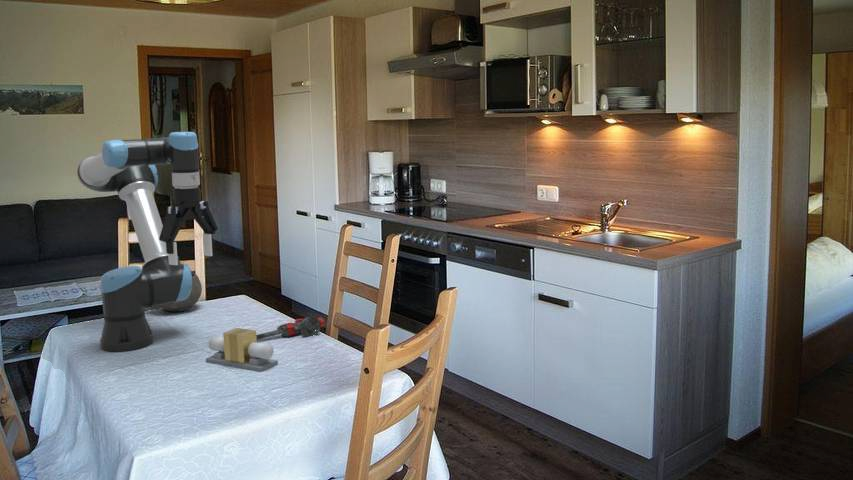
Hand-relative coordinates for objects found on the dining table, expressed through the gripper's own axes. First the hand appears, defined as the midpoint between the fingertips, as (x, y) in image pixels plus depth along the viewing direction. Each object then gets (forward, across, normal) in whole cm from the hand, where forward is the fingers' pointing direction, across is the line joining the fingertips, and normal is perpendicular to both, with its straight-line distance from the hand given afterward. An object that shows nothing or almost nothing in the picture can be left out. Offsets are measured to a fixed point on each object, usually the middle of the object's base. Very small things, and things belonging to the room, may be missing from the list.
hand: (191, 260), depth 213 cm
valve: (+28, +24, -14) cm, 39 cm away
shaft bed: (+27, -4, -20) cm, 34 cm away
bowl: (+29, +33, +42) cm, 61 cm away
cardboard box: (+26, -4, -20) cm, 33 cm away
